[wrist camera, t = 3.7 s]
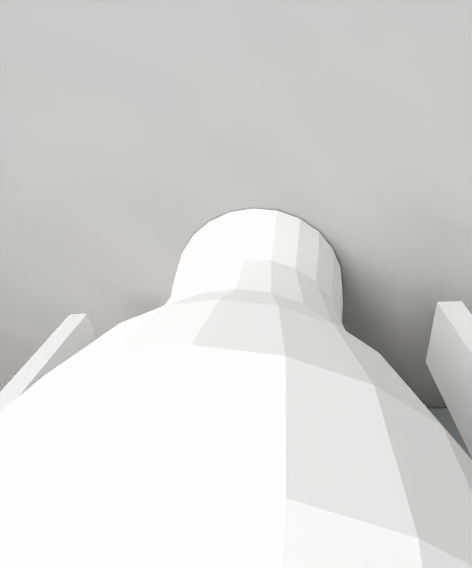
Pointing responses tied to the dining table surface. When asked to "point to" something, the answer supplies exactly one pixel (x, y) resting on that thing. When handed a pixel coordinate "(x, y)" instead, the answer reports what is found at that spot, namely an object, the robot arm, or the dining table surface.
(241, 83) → the dining table surface
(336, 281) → the cup
